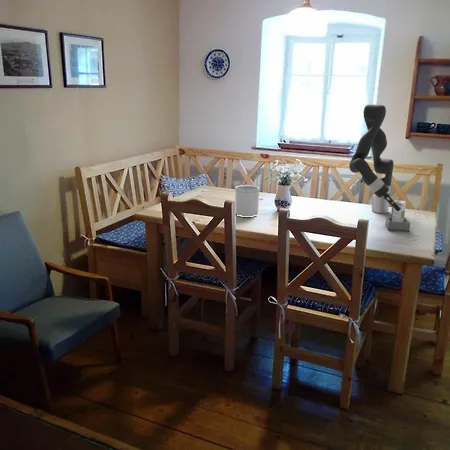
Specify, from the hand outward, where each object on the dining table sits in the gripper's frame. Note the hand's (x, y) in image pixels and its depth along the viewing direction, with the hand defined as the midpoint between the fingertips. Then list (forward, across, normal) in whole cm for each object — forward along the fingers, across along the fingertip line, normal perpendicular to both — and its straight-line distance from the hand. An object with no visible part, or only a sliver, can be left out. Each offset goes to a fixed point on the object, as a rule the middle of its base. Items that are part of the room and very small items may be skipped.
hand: (398, 208), depth 259 cm
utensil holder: (-52, +14, +69) cm, 88 cm away
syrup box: (+8, 0, +7) cm, 11 cm away
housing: (+8, 0, +8) cm, 12 cm away
